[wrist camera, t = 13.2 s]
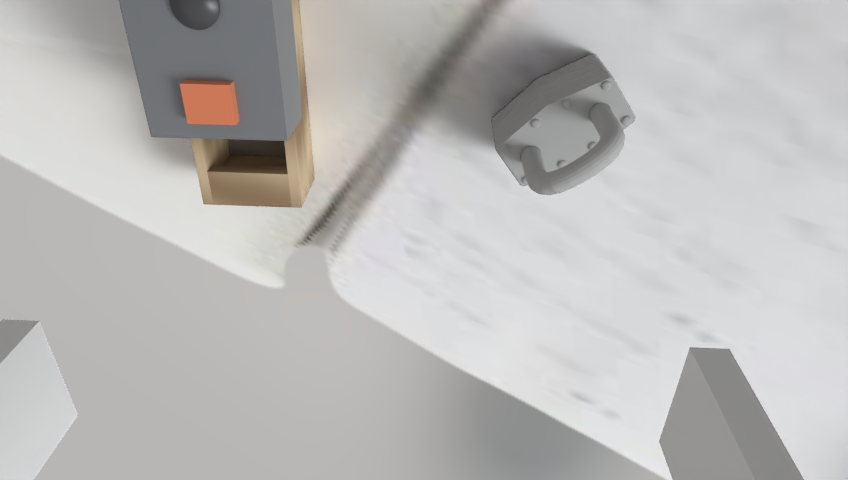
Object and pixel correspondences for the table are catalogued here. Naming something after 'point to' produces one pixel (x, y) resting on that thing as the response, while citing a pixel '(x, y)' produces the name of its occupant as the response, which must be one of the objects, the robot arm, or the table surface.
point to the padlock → (563, 127)
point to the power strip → (215, 67)
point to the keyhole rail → (260, 160)
